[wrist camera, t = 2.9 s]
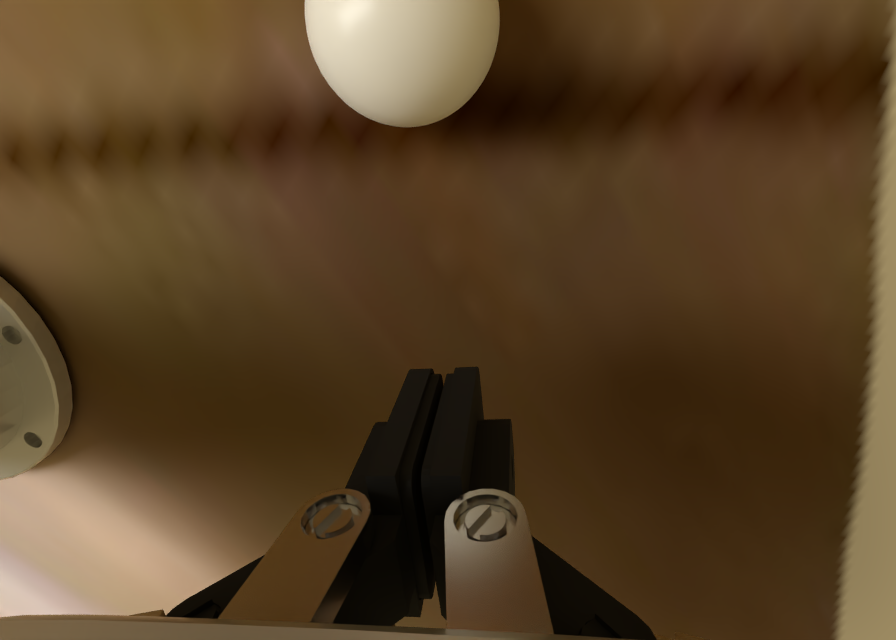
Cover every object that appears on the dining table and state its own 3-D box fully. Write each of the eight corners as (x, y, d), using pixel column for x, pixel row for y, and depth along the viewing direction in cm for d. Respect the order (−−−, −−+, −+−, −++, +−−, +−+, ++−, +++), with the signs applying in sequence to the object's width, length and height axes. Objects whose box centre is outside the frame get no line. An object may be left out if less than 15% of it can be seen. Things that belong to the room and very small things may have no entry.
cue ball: (377, 149, 18) (332, 161, 13) (310, -14, 17) (228, -71, 12) (521, 89, 17) (531, 77, 12) (465, -93, 15) (449, -195, 10)
